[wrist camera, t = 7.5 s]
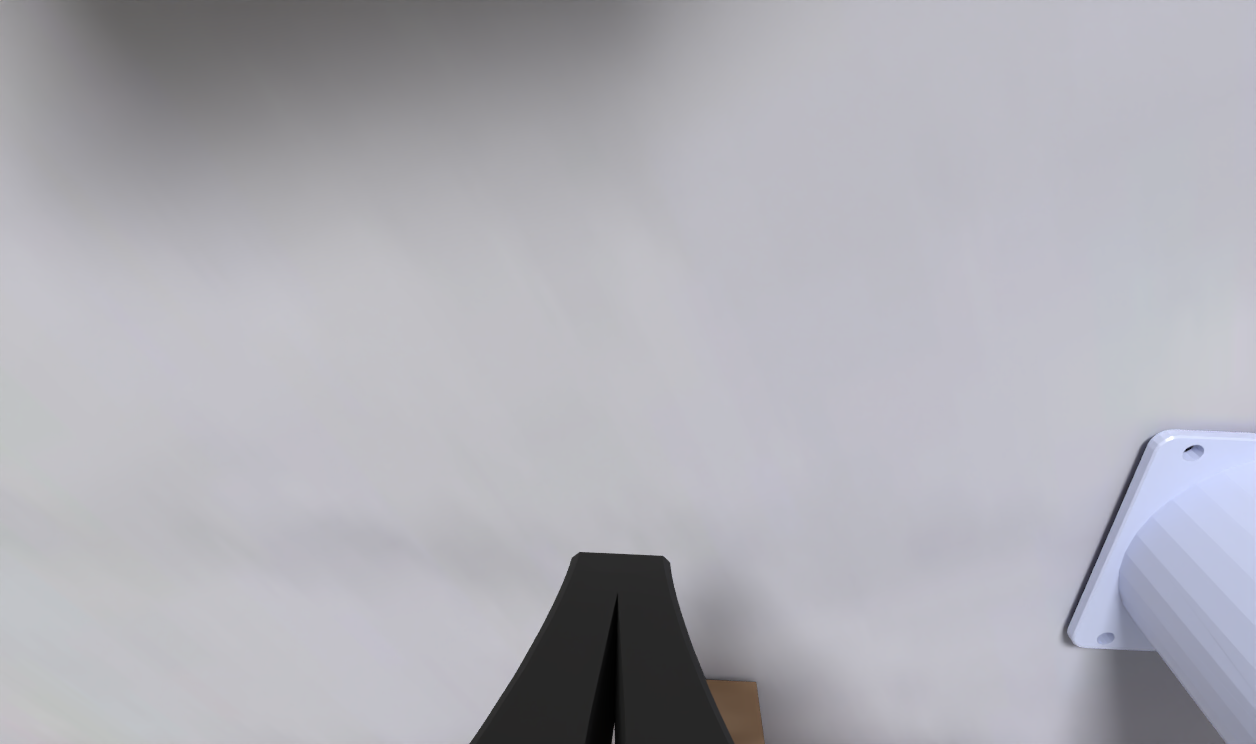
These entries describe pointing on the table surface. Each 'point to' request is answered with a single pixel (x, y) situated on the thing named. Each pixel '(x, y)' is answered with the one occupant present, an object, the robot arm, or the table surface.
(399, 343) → the table surface
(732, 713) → the clip
